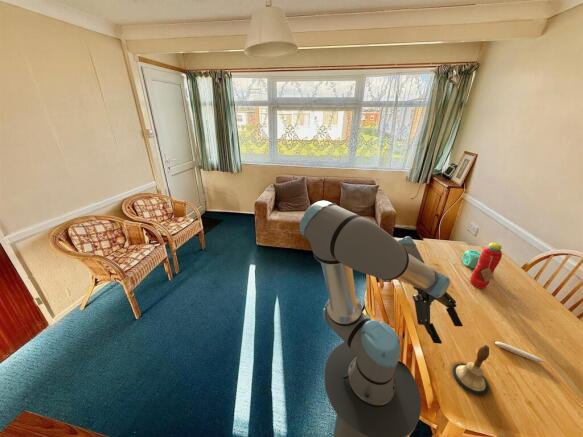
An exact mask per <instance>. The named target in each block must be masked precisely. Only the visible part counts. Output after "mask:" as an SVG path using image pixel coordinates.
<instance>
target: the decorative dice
mask: <svg viewBox="0 0 583 437" xmlns="http://www.w3.org/2000/svg"><path fill="white" fill-rule="evenodd" d="M481 252H482V251H479V250H475V249H469V250H466V251H465V252H463V254H462V258H461V259H462V260H461V261H462V263H463V264H464V266H466V267H468V268H470V269H473V270H474V269H475V268H476V265H477V263H478V260H479V257H480V254H481Z"/></svg>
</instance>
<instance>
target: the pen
mask: <svg viewBox="0 0 583 437" xmlns="http://www.w3.org/2000/svg"><path fill="white" fill-rule="evenodd" d="M494 344H495V345H496V346H498V347H499V348H502V349H504V350H506V351H509V352H511V353H513V354H516V355H518V356H521V357H523V358H526V359H528V360H532V361H534V362H537V363H546V361H545V360H544V359H542V358H540V357H539V356H538V355H537V356H536V355H534V354H531V353H530V352H526V351H525V350H522V349H519V348H517V347H515V346H512V345H510V344H507V343H505V342H502V341H495V342H494Z"/></svg>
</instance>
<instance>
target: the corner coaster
mask: <svg viewBox="0 0 583 437" xmlns="http://www.w3.org/2000/svg"><path fill="white" fill-rule="evenodd" d="M460 365H467V363H457V364H456V363H455V365H454V366H453V367H452V374H453V377H454V379H455V381H456V382H457V383H458V384H459V385H460V386H461V388H463V389H464V390H465V391H467V392H469V393H470V394H473V395H476V396H482V397H483V396H487V394H488V393H489V391H490V385H489V382H488V380H487V379H486V377H485V376H484V375H483V379H484V381H485V384H486V387H485V389H484V390H483V391H474V390H472V389H470V388H468V387H467V386H465V385H464V384H463V383H462V382H461V381H460V380H459V378H458V377H457V374H456V368H457V367H458V366H460Z"/></svg>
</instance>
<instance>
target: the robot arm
mask: <svg viewBox="0 0 583 437" xmlns="http://www.w3.org/2000/svg"><path fill="white" fill-rule="evenodd" d="M299 233H300V234H301V235H302V236H303V238H304V239H305V240H307V241H309V243H310V246H311V250H312V254H313V257H314V259H315V260H316V261H317V262H319V263H320V265H321V269H322V273H323V278H324V283H325V287H326V292H327V295H328V299H327V301H326V302H325V304H324V305H323V307H324V308H323V309H322V317H323V320H324V321H325V323H326V325H327V326H328V327H329V328H330V329H332V331H333V332H334V333H335V334H336V335H337V336H338V337H339V338H340V339H341V340H342V341H343V342H345V343H346V344H347V345H348V346H349V347H350V349H351V350H352V351H353V352H354V353H355V354H356V355H357V357H356V358H355V359H354V360H353V361H352V362H351V364H350V366H349V369H348V375H346V376H343V378H344V379H346V378H348V382H349V385H350V388H351V390H352V391H353V393H354V394H355V395H356V397H357V398H358V399H360V400H361V401H362V402H364V403H365V404H367V405H370V406H373V407H382V406H385V405H387V404H388V403H390V401H391V400H392V398H393V396H394V393H395V378H394V375H393V374H394V371H395V368H396V366H397V363H398V361H400V357H401V350H402V345H401V340H400V338H399V335H398V334H397V332H396V331H395V330H394V328H393V327H391V326H390V325H389V324H388V323H386V322H384V321H379V320H377V319H371V318H370V317H369V316H367V315H366V314H365V313H364V312H363V308H362V307H363V306H362V303H361V301H360V299H358V297H356V288H355V280H354V271H356V272H358V273H362V274H365V275H368V276H371V277H373V278H378V279H380V280H383V281H394V280H396V281H398V282H401V283H403V284H406V285H409V286H411V287H412V288H413V289H414V290H416V292H417V294H413V295H412V299H413V302H414V307H415V315H416V320H417V321H416V322H417V325H419V326H423V327H424V328H425V331H426V332H427V334H428V335H429V337H430V338H431V341H432V343H433V344H437V345H438V344H443V342H442V339H441V338H440V335H439V334H438V332H437V329H436V327H435V325H434V323H433V322H431V305H432V303H433V302H434V301H437V302H438V303H440V304H441V305H443V306H444V307H445V310H446V312H447V314H448V316H449V318H450V320H451V322H452V324H453V326H454V327H461V328H463V326H464V325H463V322H462V321H461V319H460V317H459V314H458V312H457V310H456V308H457V301H456V300H455V299H454V298H453V297H452V296H451V295H450V293H448V292H447V290H448V289H449V287H450V283H451V280H450V278H449V277H448V276H446V275H445V274H443V273H442V272H439V271H437V270H436V269H434V268H432V267H430V266H429V265H427V264H426V263H425V261H424V259H423V257H422V254H421V253H420V251H419V249H418V247H417V244H416V243H415V241H414V240H413V237H411V236H405V237H402V238H400V239H396V238H395V237H393V236H392V235H391V234H390V233H388V232H387V231H386V230H384V229H383V228H382V227H380V226H379V225H378V224H376V223H375V222H373V221H372V220H370V219H369V218H366V217H363V216H361V215H359V214H357V213H354V212H353V211H350V210H347V209H346V208H343V207H341V206H339V205H338V204H337V203H335V202H330V201H328V200H319V201H317V202H314V203H313V204H311V205H310V206H309V207H307V209H306V210H305V211H304V214H302V216H301V218H300V221H299Z"/></svg>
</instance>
